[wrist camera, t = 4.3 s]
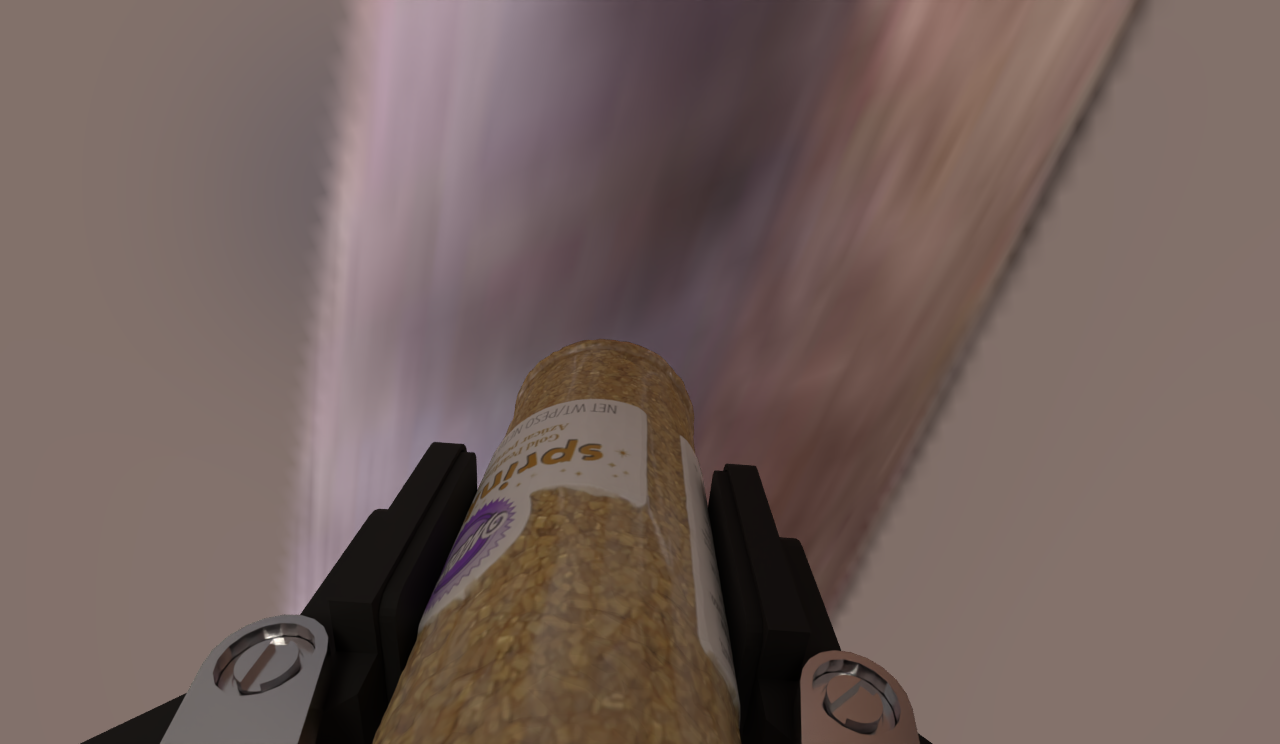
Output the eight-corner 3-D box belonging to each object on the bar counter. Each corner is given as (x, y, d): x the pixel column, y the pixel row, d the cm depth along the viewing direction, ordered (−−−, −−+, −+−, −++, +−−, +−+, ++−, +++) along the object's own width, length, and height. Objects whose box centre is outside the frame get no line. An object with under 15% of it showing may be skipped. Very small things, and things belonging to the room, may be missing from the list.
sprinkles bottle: (562, 301, 14) (-101, 1743, 2) (728, 384, 15) (1177, 1770, 2) (488, 451, 16) (-135, 1760, 3) (642, 519, 16) (638, 1773, 4)
